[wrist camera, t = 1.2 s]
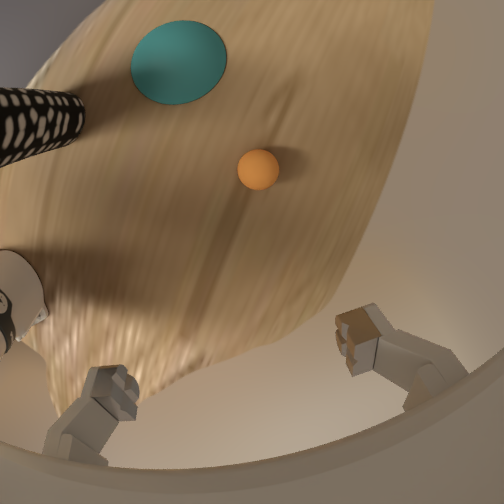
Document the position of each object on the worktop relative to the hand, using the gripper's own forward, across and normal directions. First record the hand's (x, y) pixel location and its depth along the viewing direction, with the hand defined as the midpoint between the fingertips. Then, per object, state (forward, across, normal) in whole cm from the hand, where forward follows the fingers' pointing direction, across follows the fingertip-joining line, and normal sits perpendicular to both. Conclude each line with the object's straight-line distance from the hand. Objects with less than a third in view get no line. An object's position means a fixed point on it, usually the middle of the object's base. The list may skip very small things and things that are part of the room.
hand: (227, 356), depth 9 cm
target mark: (+32, +1, -17) cm, 36 cm away
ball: (+29, -6, 0) cm, 30 cm away
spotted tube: (+31, +20, -16) cm, 40 cm away
